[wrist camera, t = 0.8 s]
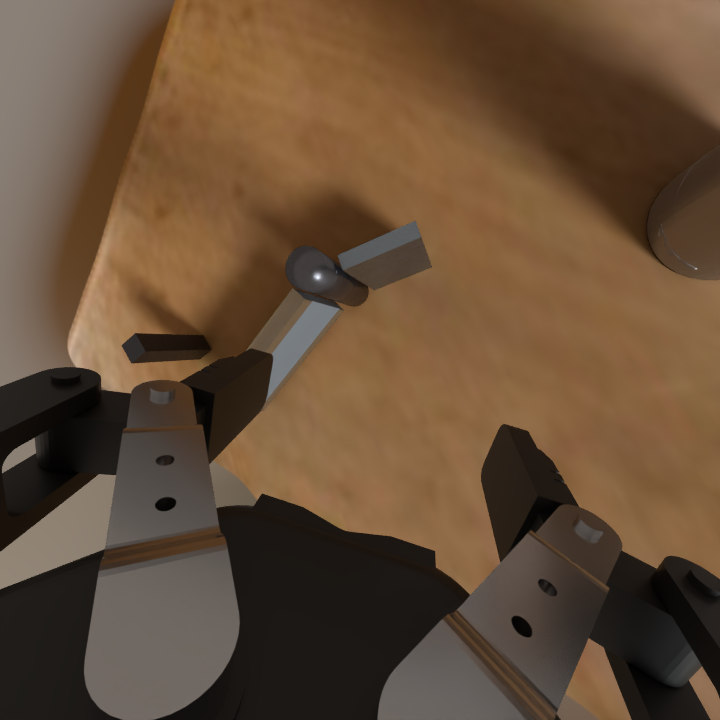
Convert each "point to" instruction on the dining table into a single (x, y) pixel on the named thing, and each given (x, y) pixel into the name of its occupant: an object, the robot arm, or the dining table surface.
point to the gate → (294, 334)
